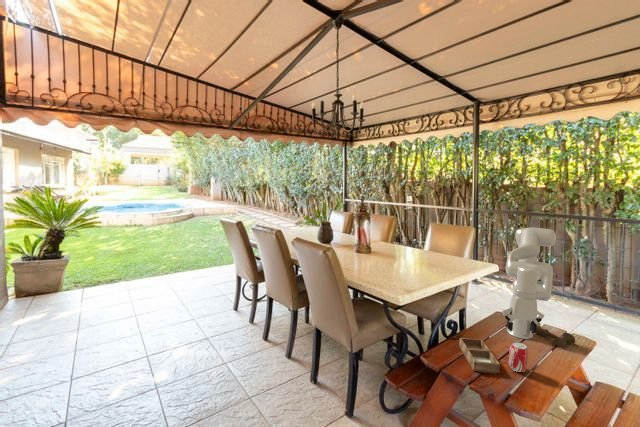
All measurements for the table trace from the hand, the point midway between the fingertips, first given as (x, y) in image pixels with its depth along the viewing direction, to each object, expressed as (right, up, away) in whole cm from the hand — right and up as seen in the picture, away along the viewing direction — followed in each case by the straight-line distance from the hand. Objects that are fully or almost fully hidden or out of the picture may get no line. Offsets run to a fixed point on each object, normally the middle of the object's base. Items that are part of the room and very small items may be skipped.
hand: (521, 330), depth 139 cm
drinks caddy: (-14, -18, +10) cm, 25 cm away
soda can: (0, -19, +3) cm, 19 cm away
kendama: (+37, -17, +27) cm, 49 cm away
